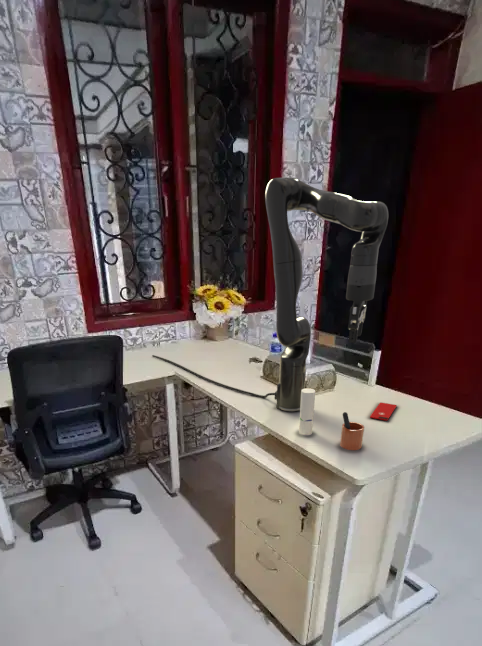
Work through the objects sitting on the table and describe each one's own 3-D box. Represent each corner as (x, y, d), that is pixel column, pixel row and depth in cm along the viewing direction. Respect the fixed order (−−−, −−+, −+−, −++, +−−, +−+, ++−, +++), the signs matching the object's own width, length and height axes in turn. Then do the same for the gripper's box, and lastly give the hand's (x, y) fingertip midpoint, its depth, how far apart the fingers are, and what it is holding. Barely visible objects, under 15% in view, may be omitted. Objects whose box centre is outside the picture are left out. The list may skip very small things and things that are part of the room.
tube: (301, 429, 139) (304, 387, 133) (314, 432, 137) (317, 389, 130) (296, 434, 136) (299, 391, 129) (309, 437, 134) (312, 393, 127)
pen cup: (338, 449, 126) (340, 428, 123) (342, 440, 131) (344, 420, 128) (359, 453, 123) (362, 432, 120) (362, 444, 128) (365, 423, 125)
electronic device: (380, 403, 155) (369, 417, 145) (380, 402, 155) (369, 416, 144) (396, 406, 152) (387, 421, 141) (396, 404, 152) (387, 419, 141)
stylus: (348, 446, 126) (341, 413, 121) (349, 444, 127) (342, 411, 122) (353, 446, 126) (346, 413, 120) (354, 443, 127) (347, 411, 121)
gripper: (352, 279, 125) (346, 333, 132) (342, 285, 114) (337, 343, 121) (378, 279, 121) (371, 334, 129) (372, 285, 110) (364, 345, 117)
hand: (354, 339), depth 125 cm, fingers open, 8 cm apart
